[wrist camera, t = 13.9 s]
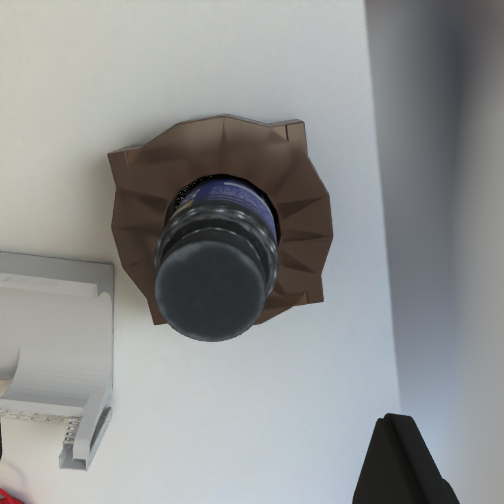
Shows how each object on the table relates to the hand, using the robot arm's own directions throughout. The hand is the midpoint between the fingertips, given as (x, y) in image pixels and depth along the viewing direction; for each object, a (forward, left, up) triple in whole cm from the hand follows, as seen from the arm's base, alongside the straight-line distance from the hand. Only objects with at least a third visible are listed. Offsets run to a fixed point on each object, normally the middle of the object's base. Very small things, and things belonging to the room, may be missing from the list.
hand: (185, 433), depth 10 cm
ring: (0, 0, -18) cm, 18 cm away
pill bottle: (0, 0, -19) cm, 19 cm away
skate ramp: (+7, +17, -19) cm, 26 cm away
